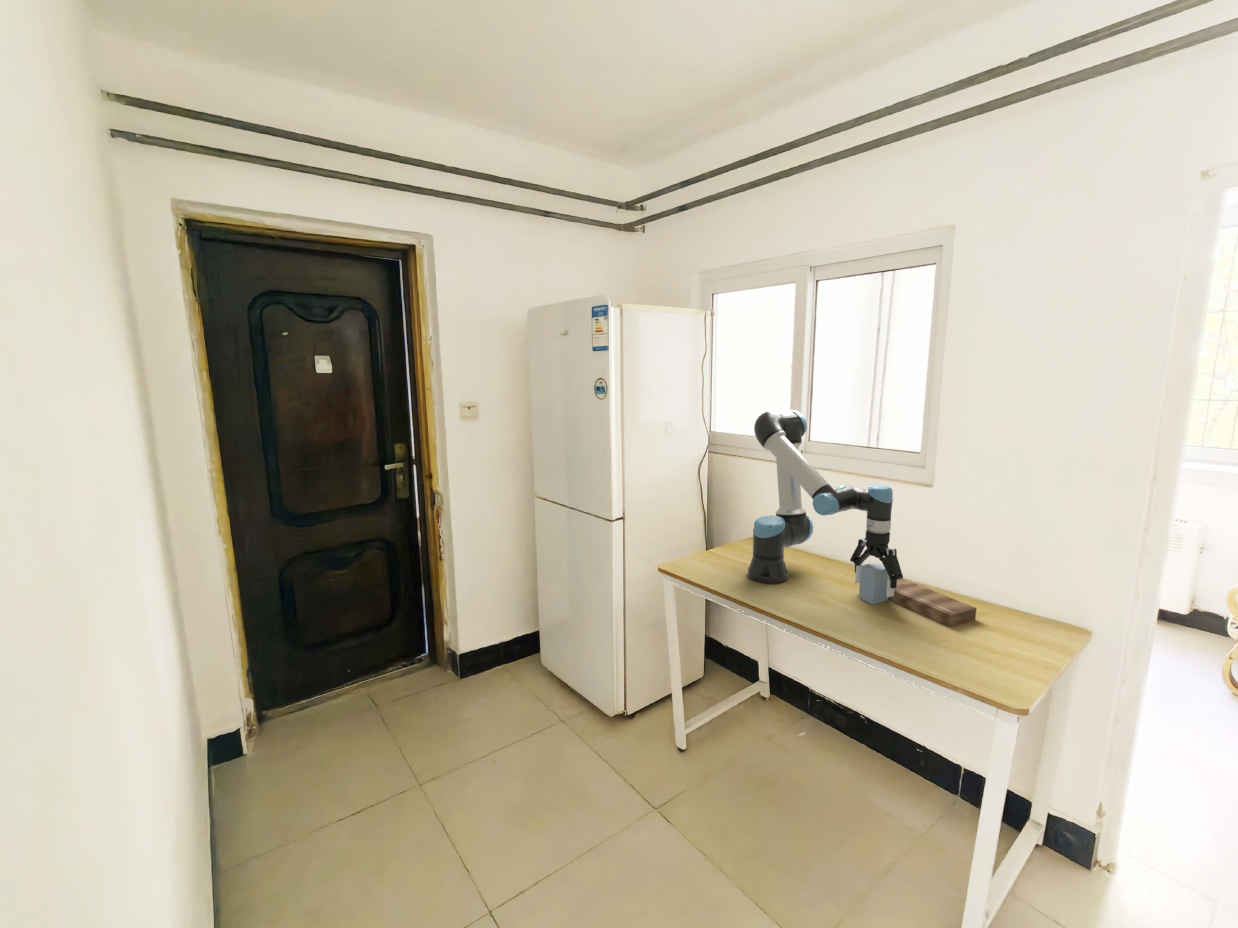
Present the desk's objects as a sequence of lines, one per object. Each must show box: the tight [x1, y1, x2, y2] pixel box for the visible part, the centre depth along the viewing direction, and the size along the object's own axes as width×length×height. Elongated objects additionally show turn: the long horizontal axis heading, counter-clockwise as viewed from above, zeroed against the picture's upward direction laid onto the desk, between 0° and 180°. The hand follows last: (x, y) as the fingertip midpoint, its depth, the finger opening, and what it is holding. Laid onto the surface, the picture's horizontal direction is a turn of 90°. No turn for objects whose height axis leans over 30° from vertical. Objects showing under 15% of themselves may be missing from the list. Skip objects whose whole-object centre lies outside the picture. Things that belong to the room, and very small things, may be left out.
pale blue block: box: [858, 562, 889, 605], centre depth 186 cm, size 6×11×12 cm, turn 113°
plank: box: [888, 577, 977, 628], centre depth 181 cm, size 30×12×4 cm, turn 23°
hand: (873, 589), depth 186 cm, fingers open, 12 cm apart
